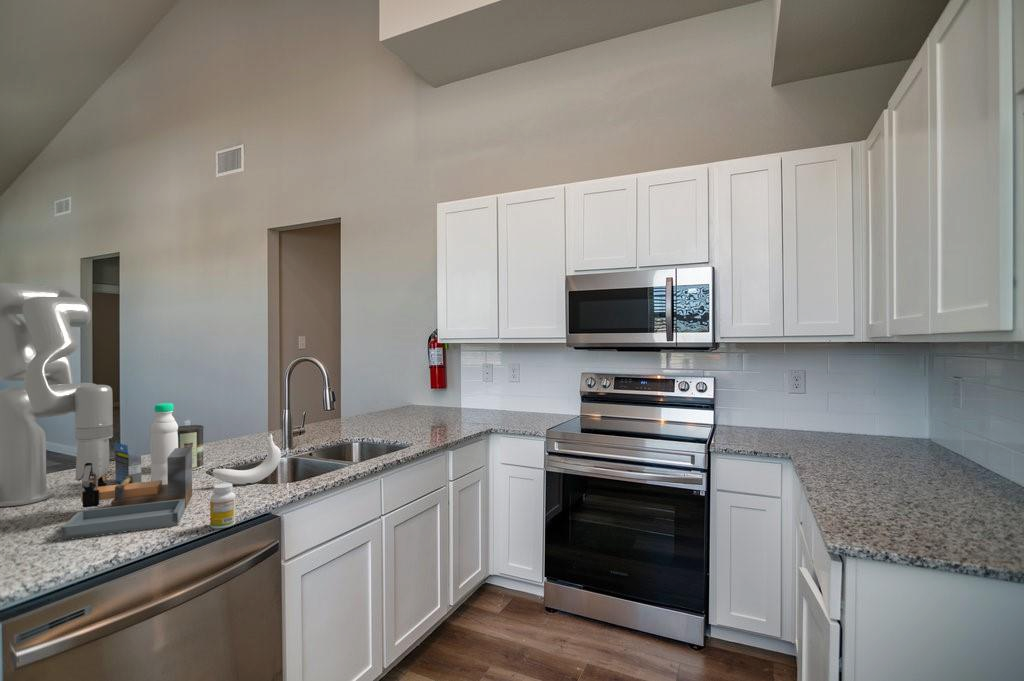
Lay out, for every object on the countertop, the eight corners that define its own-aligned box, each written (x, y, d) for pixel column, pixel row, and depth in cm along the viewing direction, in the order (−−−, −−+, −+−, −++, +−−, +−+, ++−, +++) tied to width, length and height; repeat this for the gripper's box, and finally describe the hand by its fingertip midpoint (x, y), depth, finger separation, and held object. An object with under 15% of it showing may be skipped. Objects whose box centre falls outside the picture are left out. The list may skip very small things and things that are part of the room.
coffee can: (191, 463, 183) (190, 424, 183) (210, 466, 179) (210, 426, 179) (161, 470, 174) (161, 428, 173) (181, 474, 169) (180, 431, 169)
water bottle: (164, 489, 153) (163, 405, 152) (144, 488, 154) (144, 404, 154) (184, 482, 160) (183, 402, 159) (164, 481, 161) (164, 401, 161)
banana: (211, 487, 155) (211, 438, 155) (278, 476, 167) (278, 431, 167) (214, 491, 152) (214, 441, 151) (282, 479, 163) (282, 433, 163)
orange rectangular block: (81, 502, 129) (81, 494, 129) (89, 495, 135) (88, 487, 135) (157, 493, 136) (157, 486, 136) (161, 487, 142) (161, 480, 141)
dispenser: (111, 517, 129) (110, 462, 129) (123, 503, 140) (123, 452, 140) (185, 508, 136) (185, 456, 136) (192, 495, 147) (191, 446, 147)
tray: (61, 540, 115) (61, 527, 115) (79, 522, 126) (79, 510, 126) (177, 525, 124) (177, 513, 124) (185, 509, 135) (185, 498, 135)
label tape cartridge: (142, 482, 160) (141, 443, 160) (127, 485, 156) (127, 445, 156) (128, 478, 164) (128, 439, 164) (114, 481, 161) (114, 442, 161)
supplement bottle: (217, 521, 127) (216, 482, 127) (239, 520, 128) (239, 481, 128) (205, 529, 122) (205, 488, 122) (229, 528, 123) (229, 488, 122)
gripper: (86, 428, 139) (87, 494, 139) (63, 440, 123) (64, 515, 123) (121, 426, 142) (121, 491, 142) (102, 438, 126) (103, 511, 127)
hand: (95, 501), depth 133 cm, fingers closed on orange rectangular block, 5 cm apart
